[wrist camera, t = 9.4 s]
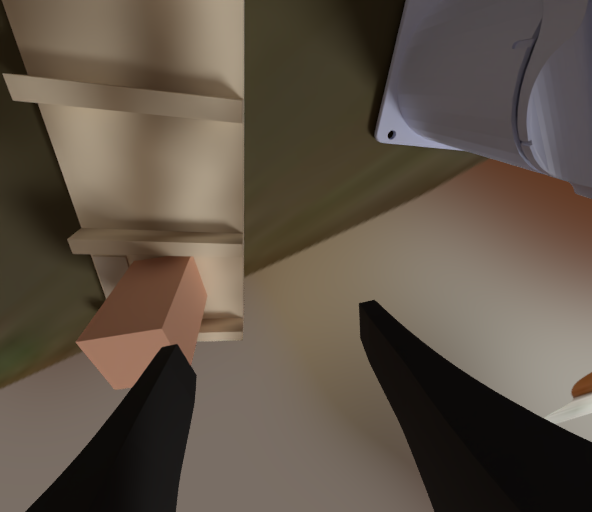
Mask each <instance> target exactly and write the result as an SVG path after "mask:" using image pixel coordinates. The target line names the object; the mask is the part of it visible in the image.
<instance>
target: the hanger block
mask: <svg viewBox="0 0 592 512" xmlns="http://www.w3.org/2000/svg"><path fill="white" fill-rule="evenodd" d="M206 300H207V293H206V290H205V287H204V285H203V282H202V279H201V276H200V274H199V271H198V268H197V265H196V263H195V260H194V257H193V256H165V257H158V258H152V259H145V260H138V261H133V263H132V264H131V265H130V267H129V268H128V270H127V271H126V272H125V274H124V275H123V277H122V278H121V279H120V281H119V282H118V284H117V285H116V286H115V288H114V289H113V291H112V292H111V293H110V295H109V296H108V298H107V299H106V300H105V302H104V303H103V305H102V306H101V307H100V309H99V310H98V312H97V313H96V314H95V316H94V317H93V319H92V320H91V321H90V323H89V324H88V326H87V327H86V328H85V330H84V331H83V332H82V334H81V335H80V337H79V338H78V339H77V341H76V343H77V345H78V346H79V347H80V348H81V349H82V351H83V352H84V353H85V354H86V355H87V357H88V358H89V359H90V360H91V362H92V363H93V364H94V365H95V366H96V368H97V369H98V370H99V371H100V373H101V374H102V375H103V376H104V377H105V378H106V380H107V381H108V382H109V383H110V385H111V386H112V387H113V388H114V390H118V389H124V388H130V387H133V386H134V384H135V383H136V382H137V380H138V379H139V378H140V376H141V375H142V373H143V372H144V371H145V369H146V368H147V366H148V365H149V364H150V362H151V361H152V359H153V358H154V357H155V355H156V354H157V353H158V351H159V350H160V349H161V347H165V346H169V345H174V344H178V345H179V347H180V349H181V350H182V352H183V354H184V355H185V357H186V359H187V360H188V362H189V364H190V365H191V364H192V359H193V355H194V351H195V347H196V343H197V338H198V334H199V330H200V326H201V321H202V317H203V313H204V309H205V305H206Z"/></svg>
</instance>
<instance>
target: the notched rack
mask: <svg viewBox="0 0 592 512" xmlns="http://www.w3.org/2000/svg"><path fill="white" fill-rule="evenodd" d="M2 2H3V5H4V8H5V11H6V14H7V17H8V20H9V22H10V25H11V28H12V31H13V34H14V37H15V40H16V42H17V45H18V48H19V51H20V54H21V57H22V60H23V62H24V65H25V68H26V71H27V74H28V75H21V74H4V73H2V74H3V76H4V79H5V82H6V84H7V87H8V89H9V92H10V94H11V97H12V99H13V101H23V102H33V103H38V105H39V108H40V111H41V114H42V117H43V120H44V122H45V125H46V128H47V131H48V134H49V137H50V140H51V143H52V145H53V148H54V151H55V154H56V157H57V160H58V163H59V165H60V168H61V171H62V174H63V177H64V180H65V183H66V185H67V188H68V191H69V194H70V197H71V200H72V203H73V205H74V208H75V211H76V214H77V217H78V220H79V223H80V225H81V229H79V230H78V231H77V232H76V233H74V234H73V235H72V236H71V237H69V238H68V239H67V240H68V243H69V246H70V248H71V251H72V253H73V254H91V257H92V260H93V263H94V265H95V268H96V271H97V274H98V277H99V280H100V283H101V285H102V288H103V291H104V294H105V297H106V299H107V298H108V296H109V295H110V293H111V292H112V291H113V289H114V288H115V286H116V285H117V284H118V282H119V281H120V279H121V278H122V277H123V275H124V274H125V272H126V271H127V270H128V268H129V267H130V265H131V264H132V263H133V261H138V260H145V259H152V258H158V257H165V256H193V257H194V260H195V263H196V265H197V268H198V271H199V274H200V276H201V279H202V282H203V285H204V287H205V290H206V293H207V300H206V305H205V309H204V313H203V317H202V321H201V326H200V330H199V334H198V338H197V341H234V340H243V321H244V0H2Z"/></svg>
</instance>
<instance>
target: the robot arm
mask: <svg viewBox="0 0 592 512" xmlns="http://www.w3.org/2000/svg"><path fill="white" fill-rule="evenodd" d="M390 131H393V136H392V137H391V138H388V133H389V132H390ZM374 137H375V139H376V140H377V141H378V142H381V143H389V144H400V145H410V146H420V147H431V148H441V149H451V150H462V151H468V152H471V153H475V154H478V155H481V156H485V157H488V158H491V159H495V160H498V161H502V162H505V163H508V164H511V165H515V166H518V167H522V168H525V169H528V170H532V171H535V172H538V173H542V174H546V175H548V176H552V177H554V178H558V179H561V180H564V181H568V182H570V183H571V185H572V186H573V187H574V191H575V193H576V194H579V195H582V196H585V197H588V198H591V199H592V0H406V1H405V5H404V10H403V14H402V18H401V22H400V27H399V31H398V35H397V39H396V44H395V48H394V52H393V56H392V61H391V65H390V69H389V73H388V78H387V82H386V86H385V90H384V95H383V99H382V103H381V107H380V112H379V116H378V120H377V124H376V128H375V133H374ZM359 313H360V314H359V315H360V338H361V341H362V344H363V346H364V349H365V352H366V355H367V357H368V360H369V362H370V365H371V367H372V369H373V371H374V373H375V375H376V377H377V378H378V381H379V383H380V385H381V387H382V389H383V390H384V393H385V395H386V396H387V399H388V401H389V402H390V405H391V407H392V409H393V411H394V413H395V415H396V417H397V418H398V421H399V423H400V425H401V427H402V429H403V432H404V434H405V437H406V439H407V442H408V444H409V447H410V449H411V452H412V454H413V457H414V459H415V462H416V464H417V467H418V470H419V472H420V475H421V477H422V480H423V482H424V485H425V487H426V490H427V493H428V496H429V498H430V501H431V503H432V506H433V509H434V512H592V442H590V441H588V440H586V439H583V438H582V437H579V436H577V435H575V434H573V433H571V432H569V431H567V430H565V429H563V428H561V427H559V426H557V425H555V424H553V423H551V422H550V421H548V420H546V419H544V418H542V417H540V416H538V415H536V414H534V413H533V412H531V411H529V410H527V409H525V408H524V407H522V406H520V405H518V404H516V403H515V402H513V401H511V400H509V399H508V398H505V397H504V396H502V395H500V394H499V393H497V392H495V391H494V390H492V389H490V388H489V387H487V386H486V385H484V384H482V383H480V382H479V381H478V380H476V379H474V378H473V377H471V376H470V375H468V374H467V373H465V372H463V371H462V370H461V369H459V368H458V367H456V366H455V365H453V364H452V363H450V362H449V361H448V360H446V359H445V358H443V357H442V356H441V355H439V354H438V353H436V352H435V351H434V350H433V349H431V348H430V347H429V346H427V345H426V344H425V343H423V342H422V341H421V340H420V339H419V338H417V337H416V336H415V335H413V334H412V333H411V332H410V331H409V330H407V329H406V328H405V327H404V326H403V325H402V324H400V323H399V322H398V321H397V320H396V319H395V318H394V317H393V316H391V315H390V314H389V313H388V312H387V311H386V310H385V309H384V308H383V307H382V306H381V305H380V304H379V303H377V302H376V301H375V300H372V301H368V302H363V303H359ZM195 391H196V374H195V372H194V370H193V369H192V367H191V365H190V364H189V362H188V360H187V359H186V357H185V355H184V354H183V352H182V350H181V349H180V347H179V345H178V344H174V345H169V346H165V347H161V349H160V350H159V351H158V353H157V354H156V355H155V357H154V358H153V359H152V361H151V362H150V364H149V365H148V366H147V368H146V369H145V371H144V372H143V373H142V375H141V376H140V378H139V379H138V380H137V382H136V383H135V384H134V386H133V387H132V388H131V390H130V391H129V392H128V394H127V395H126V396H125V398H124V399H123V401H122V402H121V403H120V404H119V406H118V407H117V408H116V410H115V411H114V412H113V413H112V415H111V416H110V417H109V418H108V420H107V421H106V422H105V423H104V425H103V426H102V427H101V429H100V430H99V431H98V432H97V433H96V435H95V436H94V437H93V438H92V440H91V441H90V442H89V443H88V445H87V446H86V447H85V448H84V449H83V450H82V451H81V453H80V454H79V455H78V456H77V457H76V458H75V460H73V462H72V463H71V464H70V465H69V466H68V467H67V468H66V470H65V471H64V472H63V473H62V474H61V475H60V476H59V477H58V478H57V479H56V481H55V482H54V483H53V484H52V485H51V486H50V487H49V488H48V489H47V490H46V491H45V492H44V493H43V494H42V495H41V496H40V497H39V498H38V499H37V500H36V501H35V502H34V503H33V504H32V505H31V506H30V507H29V508H28V510H27V511H26V512H176V505H177V496H178V487H179V480H180V474H181V468H182V464H183V459H184V453H185V449H186V444H187V438H188V434H189V429H190V423H191V419H192V413H193V408H194V403H195Z"/></svg>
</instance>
